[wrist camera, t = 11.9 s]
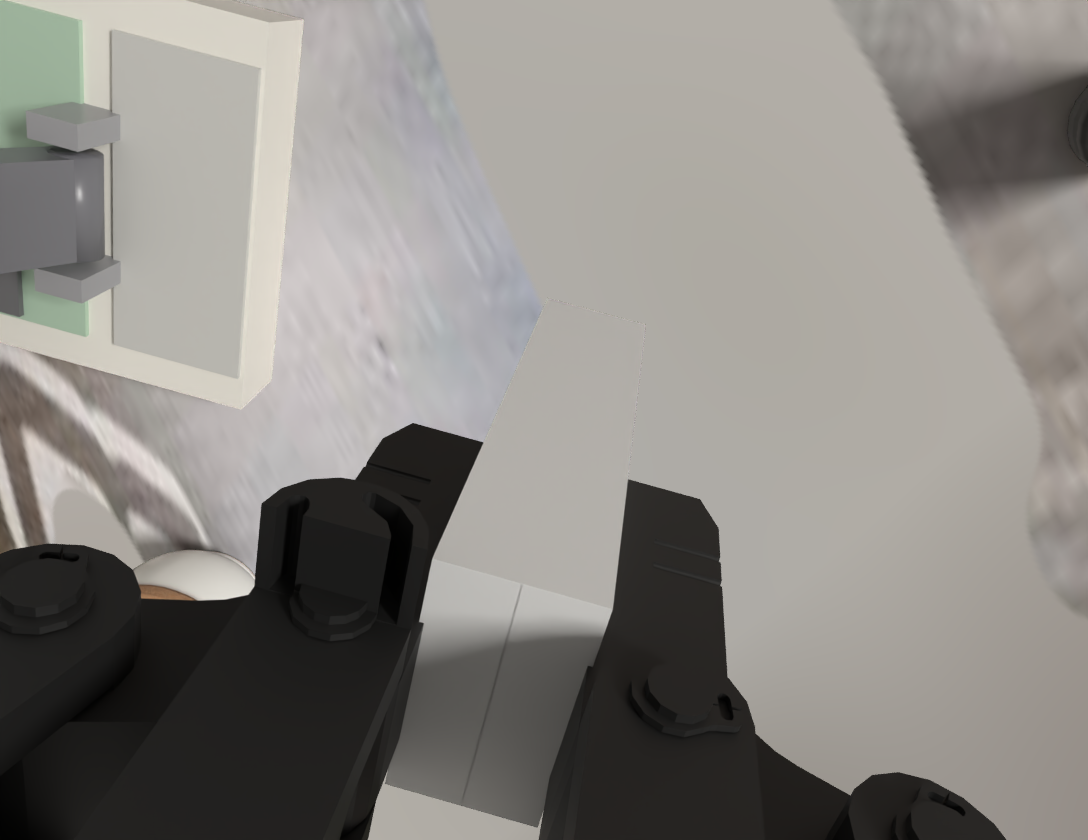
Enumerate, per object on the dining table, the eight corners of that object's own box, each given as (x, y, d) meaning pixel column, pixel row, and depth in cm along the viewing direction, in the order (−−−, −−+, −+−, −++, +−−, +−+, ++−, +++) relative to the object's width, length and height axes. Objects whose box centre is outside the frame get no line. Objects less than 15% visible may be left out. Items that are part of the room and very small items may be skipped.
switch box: (304, 19, 42) (231, 26, 36) (271, 380, 52) (209, 439, 45) (-8, -64, 43) (-138, -73, 36) (15, 309, 52) (-84, 357, 45)
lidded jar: (312, 647, 61) (253, 752, 52) (175, 650, 63) (97, 751, 55) (269, 517, 56) (197, 609, 48) (123, 525, 58) (29, 614, 50)
